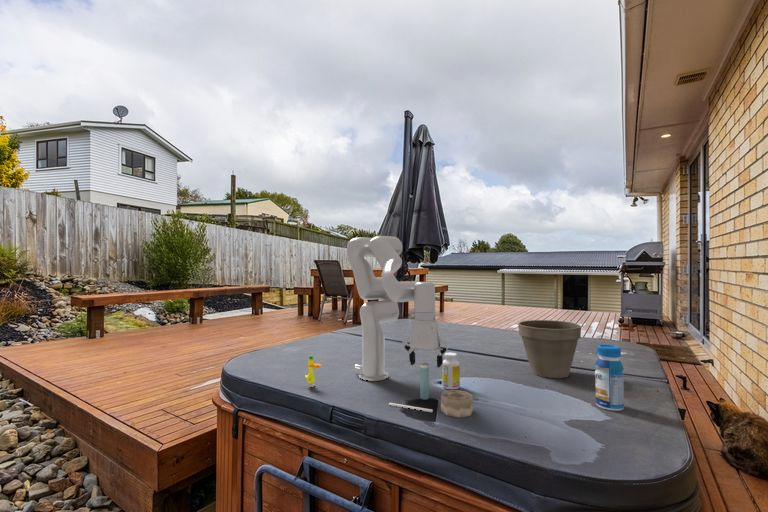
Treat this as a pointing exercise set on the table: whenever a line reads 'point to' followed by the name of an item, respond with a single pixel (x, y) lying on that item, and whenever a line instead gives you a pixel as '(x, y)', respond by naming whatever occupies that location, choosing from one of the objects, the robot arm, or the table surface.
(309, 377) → the toy figure
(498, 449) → the table surface
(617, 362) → the beverage bottle
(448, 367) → the supplement bottle
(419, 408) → the white flute
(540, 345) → the plant pot
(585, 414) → the table surface
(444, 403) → the tan faceted bowl
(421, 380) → the needle dowel
